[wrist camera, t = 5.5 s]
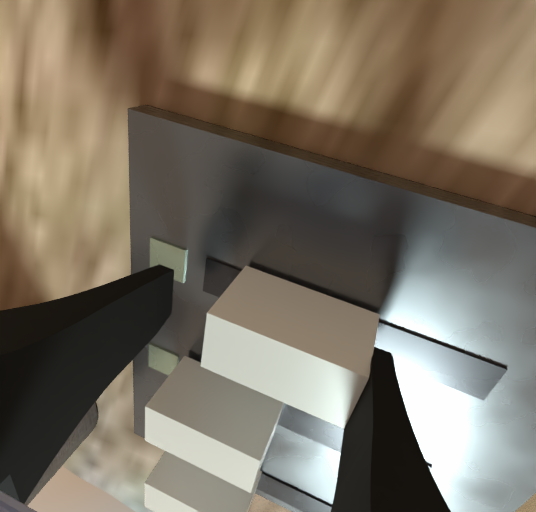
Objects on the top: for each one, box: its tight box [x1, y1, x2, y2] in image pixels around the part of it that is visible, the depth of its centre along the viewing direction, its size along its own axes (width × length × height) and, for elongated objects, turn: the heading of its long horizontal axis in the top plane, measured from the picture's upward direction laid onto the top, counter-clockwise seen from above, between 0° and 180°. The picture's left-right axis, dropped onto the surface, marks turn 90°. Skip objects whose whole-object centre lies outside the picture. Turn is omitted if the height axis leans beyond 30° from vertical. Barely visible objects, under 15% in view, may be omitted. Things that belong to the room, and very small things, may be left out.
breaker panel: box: [128, 105, 536, 512], centre depth 16 cm, size 18×19×1 cm
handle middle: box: [145, 356, 284, 493], centre depth 16 cm, size 5×2×3 cm, turn 79°
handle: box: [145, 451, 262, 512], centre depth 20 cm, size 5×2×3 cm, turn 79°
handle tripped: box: [201, 266, 380, 429], centre depth 13 cm, size 5×2×3 cm, turn 79°
